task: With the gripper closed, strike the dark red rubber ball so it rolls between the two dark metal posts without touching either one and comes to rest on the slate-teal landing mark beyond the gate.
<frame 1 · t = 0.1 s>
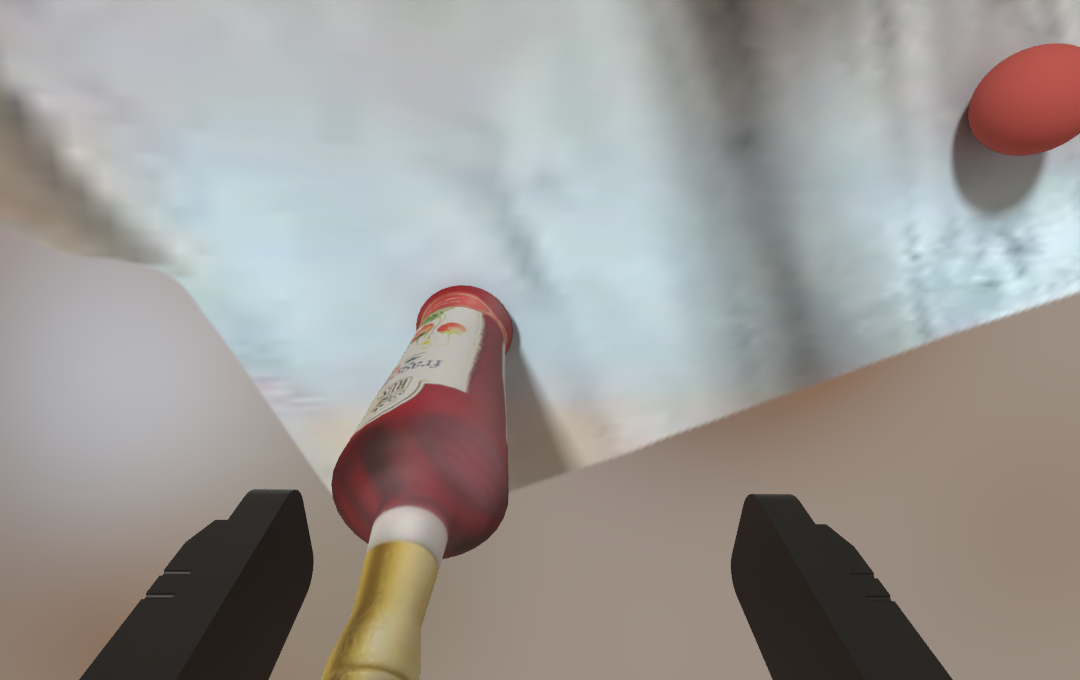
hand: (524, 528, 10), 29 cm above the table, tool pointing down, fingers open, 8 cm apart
ball: (1033, 101, 32), on the table
red condiment bottle: (466, 323, 40), on the table
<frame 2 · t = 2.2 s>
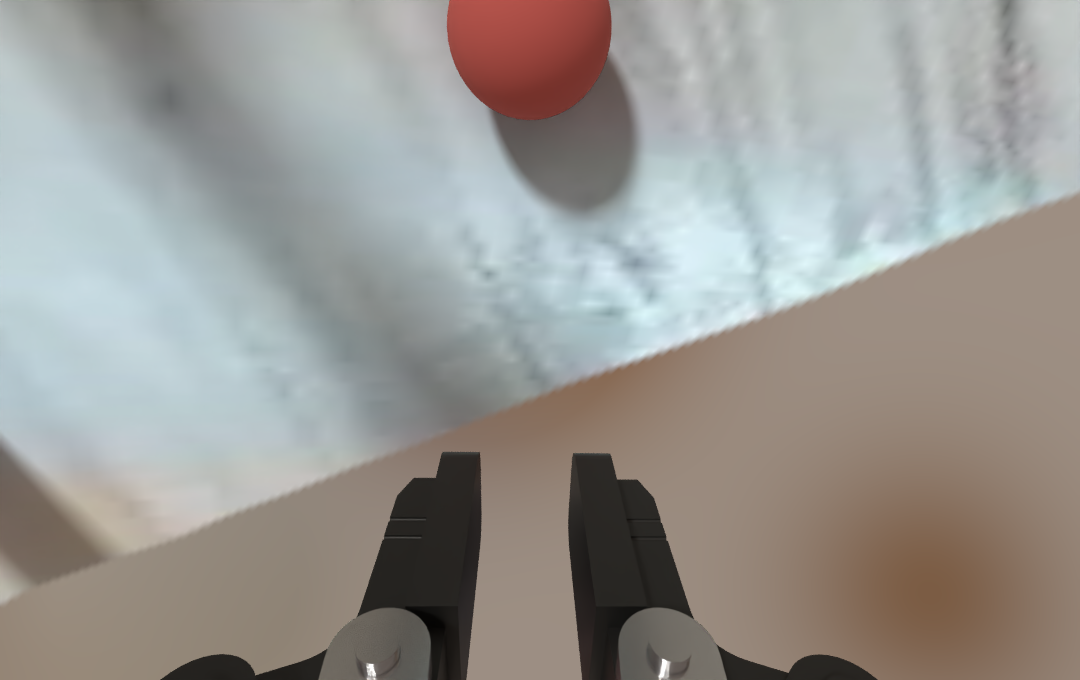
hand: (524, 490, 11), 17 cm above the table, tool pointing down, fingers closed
ball: (529, 32, 20), on the table
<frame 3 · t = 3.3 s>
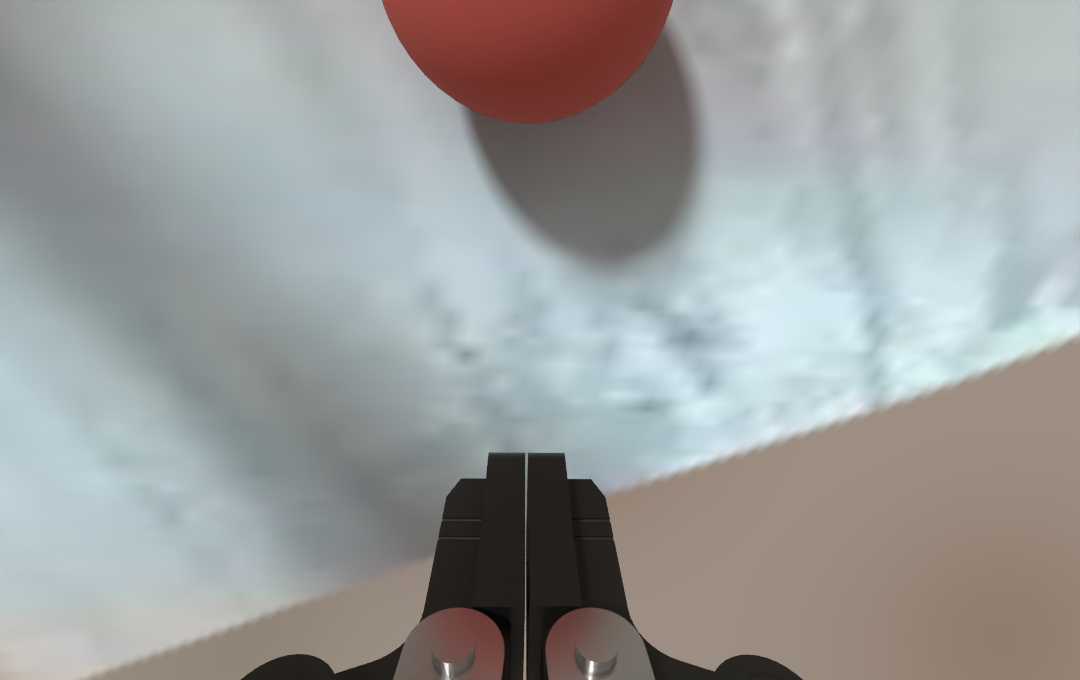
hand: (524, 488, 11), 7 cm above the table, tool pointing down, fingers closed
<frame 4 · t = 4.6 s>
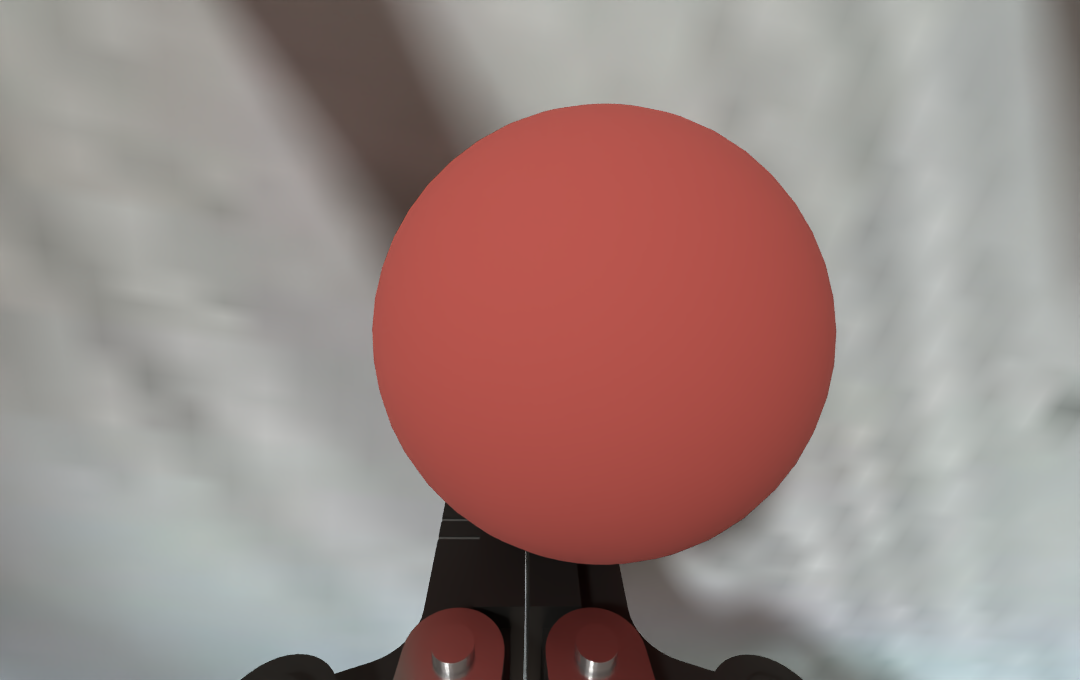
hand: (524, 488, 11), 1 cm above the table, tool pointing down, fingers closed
ball: (594, 335, 8), on the table
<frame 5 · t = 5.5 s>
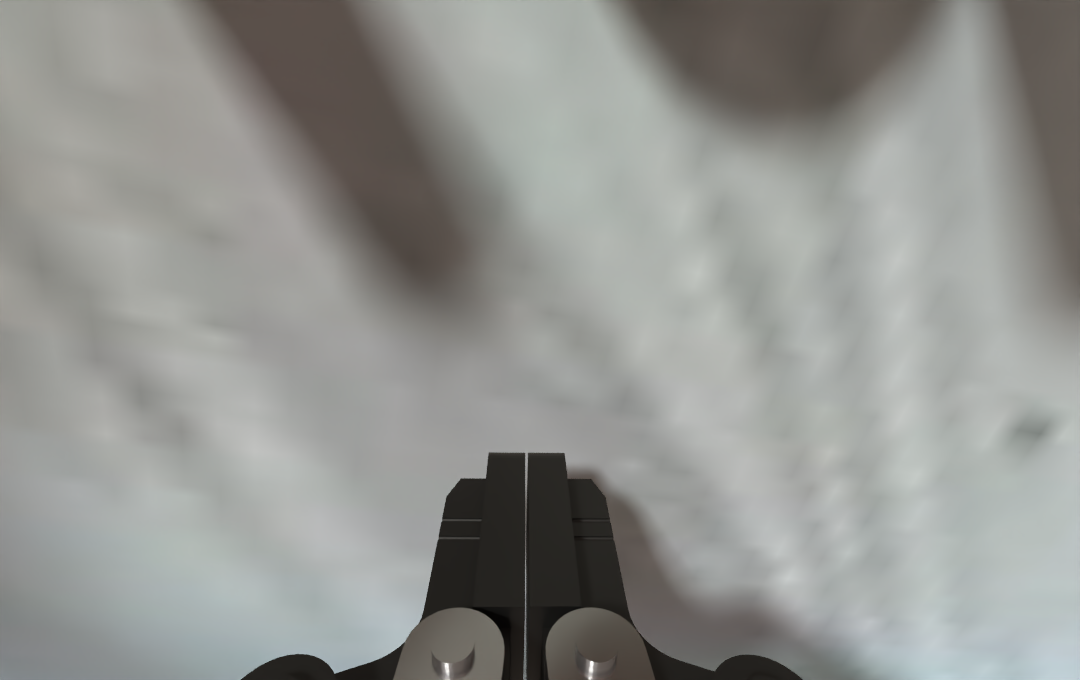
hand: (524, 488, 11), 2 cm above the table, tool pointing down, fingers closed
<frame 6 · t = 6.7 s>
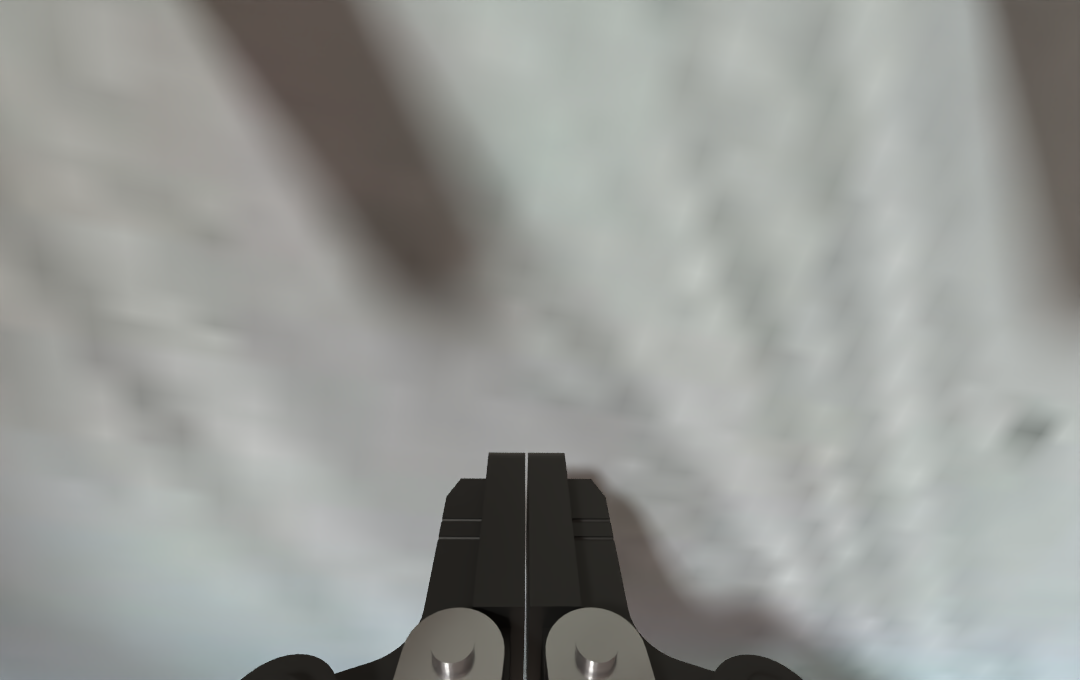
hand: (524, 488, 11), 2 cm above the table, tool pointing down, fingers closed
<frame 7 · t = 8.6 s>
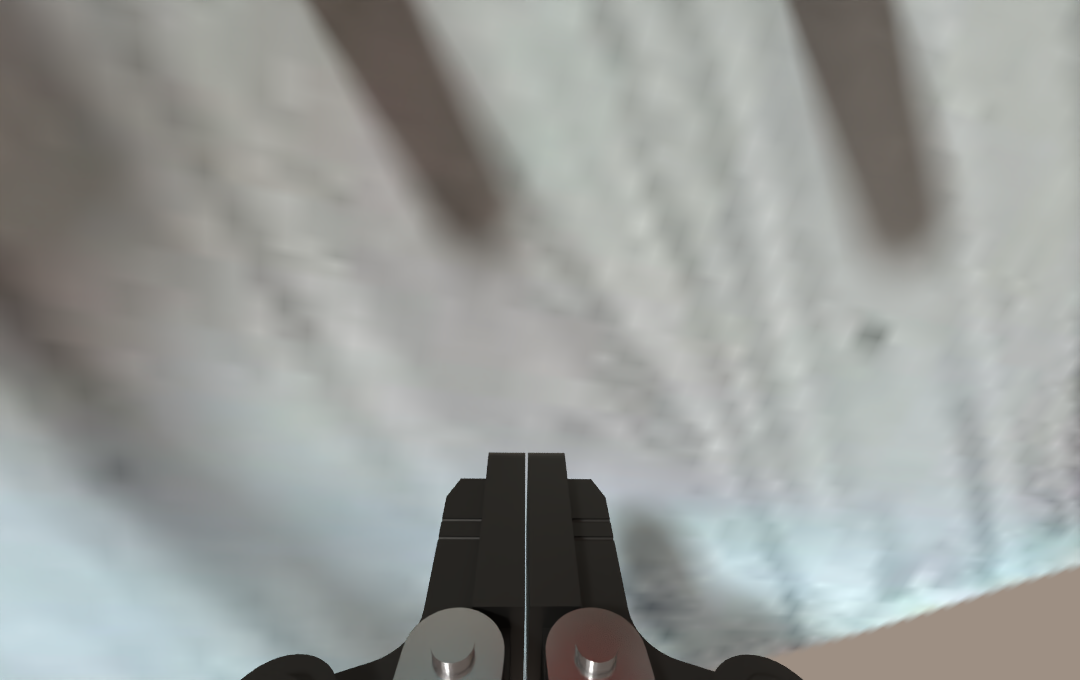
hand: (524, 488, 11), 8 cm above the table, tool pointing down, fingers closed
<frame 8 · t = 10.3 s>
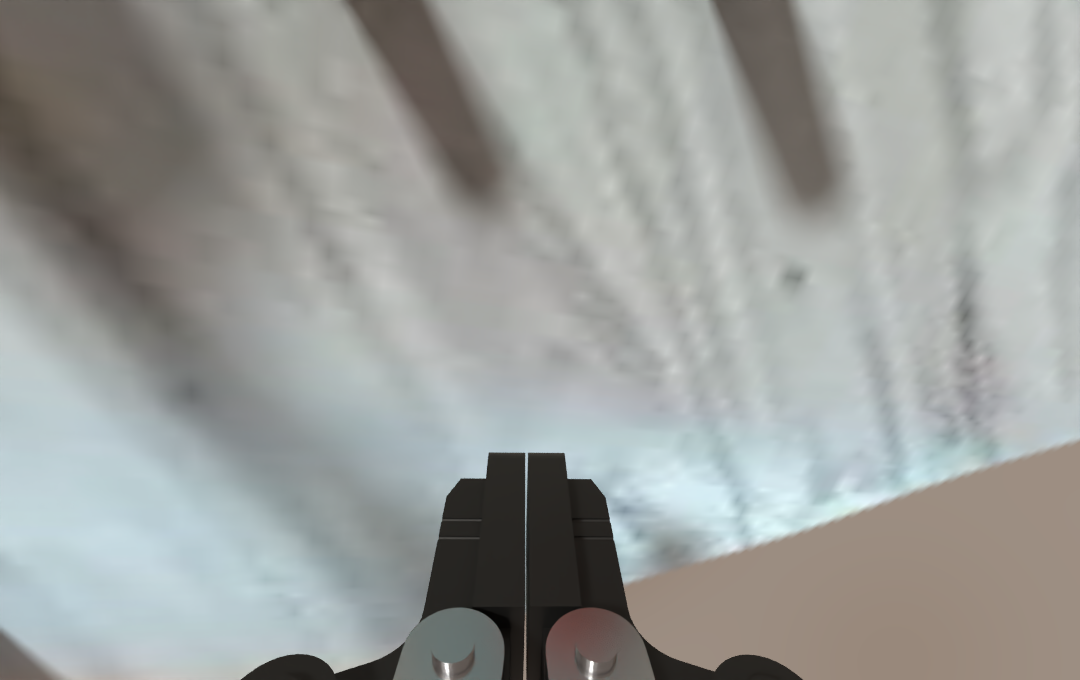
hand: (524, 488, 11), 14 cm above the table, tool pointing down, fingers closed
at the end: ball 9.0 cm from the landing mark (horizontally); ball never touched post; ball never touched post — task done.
